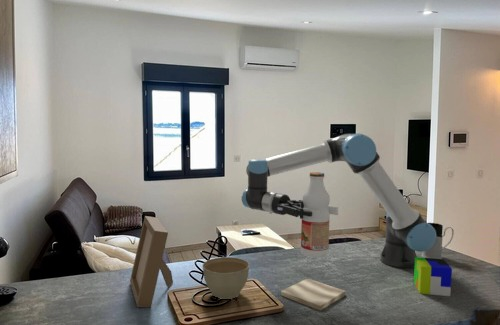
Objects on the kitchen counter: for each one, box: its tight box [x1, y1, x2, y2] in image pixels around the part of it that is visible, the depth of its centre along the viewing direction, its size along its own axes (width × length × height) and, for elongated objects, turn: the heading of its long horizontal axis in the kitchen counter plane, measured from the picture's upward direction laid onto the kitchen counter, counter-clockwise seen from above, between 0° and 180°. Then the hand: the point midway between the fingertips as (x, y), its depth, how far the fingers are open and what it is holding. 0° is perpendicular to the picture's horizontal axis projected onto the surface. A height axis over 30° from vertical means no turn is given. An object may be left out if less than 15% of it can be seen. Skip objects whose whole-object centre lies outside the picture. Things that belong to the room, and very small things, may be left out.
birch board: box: [280, 278, 346, 312], centre depth 134 cm, size 16×16×2 cm
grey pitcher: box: [421, 222, 455, 259], centre depth 176 cm, size 9×14×15 cm, turn 96°
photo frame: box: [129, 215, 174, 308], centre depth 133 cm, size 15×22×25 cm
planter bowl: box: [202, 256, 250, 300], centre depth 133 cm, size 16×16×11 cm
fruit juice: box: [300, 171, 331, 258], centre depth 131 cm, size 9×9×28 cm
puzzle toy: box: [413, 256, 453, 297], centre depth 140 cm, size 10×10×10 cm
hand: (329, 213), depth 127 cm, fingers closed on fruit juice, 9 cm apart
